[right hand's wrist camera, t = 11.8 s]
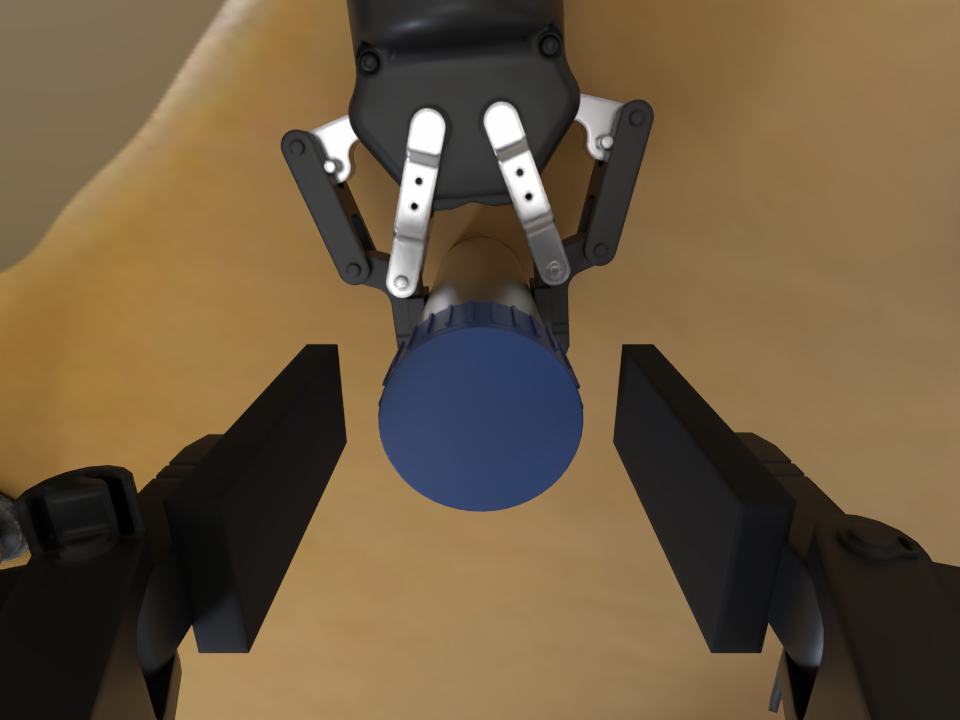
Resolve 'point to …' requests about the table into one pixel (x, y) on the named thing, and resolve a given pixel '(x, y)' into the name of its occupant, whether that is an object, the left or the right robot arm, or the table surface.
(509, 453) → the lid
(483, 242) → the bottle
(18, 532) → the grey chess piece
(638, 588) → the table surface
